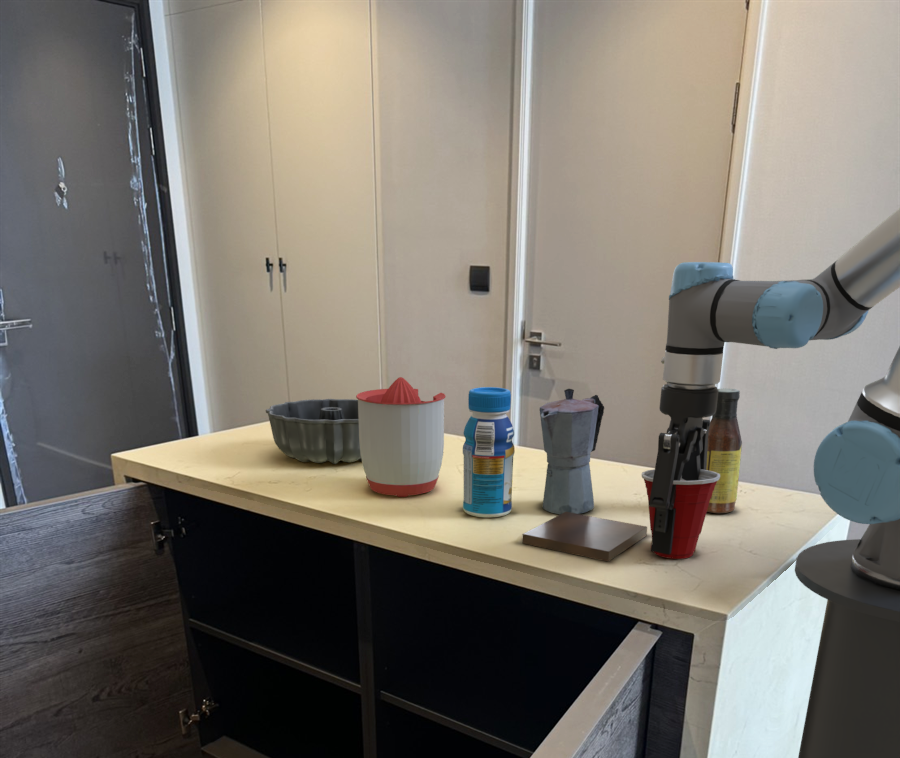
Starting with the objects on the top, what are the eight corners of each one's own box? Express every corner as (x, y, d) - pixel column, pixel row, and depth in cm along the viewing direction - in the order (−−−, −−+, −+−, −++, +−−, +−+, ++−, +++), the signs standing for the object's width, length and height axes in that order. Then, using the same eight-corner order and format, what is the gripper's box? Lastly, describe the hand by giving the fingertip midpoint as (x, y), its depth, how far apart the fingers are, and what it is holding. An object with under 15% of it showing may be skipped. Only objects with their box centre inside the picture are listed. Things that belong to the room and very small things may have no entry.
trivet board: (646, 535, 133) (647, 526, 132) (608, 561, 122) (609, 551, 121) (565, 520, 140) (565, 511, 139) (522, 543, 129) (522, 533, 128)
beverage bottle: (451, 510, 145) (452, 389, 137) (490, 501, 150) (493, 384, 142) (483, 522, 139) (486, 396, 131) (522, 513, 143) (527, 391, 136)
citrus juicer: (469, 486, 159) (470, 375, 151) (402, 506, 147) (400, 387, 139) (409, 472, 168) (407, 367, 161) (341, 489, 157) (336, 377, 149)
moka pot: (517, 511, 144) (521, 390, 137) (571, 493, 155) (578, 379, 147) (564, 523, 138) (571, 396, 131) (617, 503, 149) (626, 385, 141)
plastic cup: (684, 537, 132) (692, 460, 127) (726, 560, 122) (737, 477, 118) (620, 544, 129) (627, 465, 124) (659, 568, 119) (667, 484, 115)
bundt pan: (363, 437, 198) (361, 393, 194) (419, 461, 177) (418, 412, 173) (252, 450, 185) (248, 403, 182) (298, 477, 165) (295, 425, 161)
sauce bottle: (742, 510, 145) (759, 390, 137) (718, 517, 142) (734, 394, 134) (711, 502, 150) (725, 385, 142) (687, 507, 147) (700, 389, 139)
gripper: (690, 373, 126) (675, 520, 135) (632, 392, 110) (618, 558, 119) (742, 377, 123) (722, 529, 131) (689, 398, 106) (670, 569, 115)
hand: (673, 543), depth 125 cm, fingers closed on plastic cup, 9 cm apart
